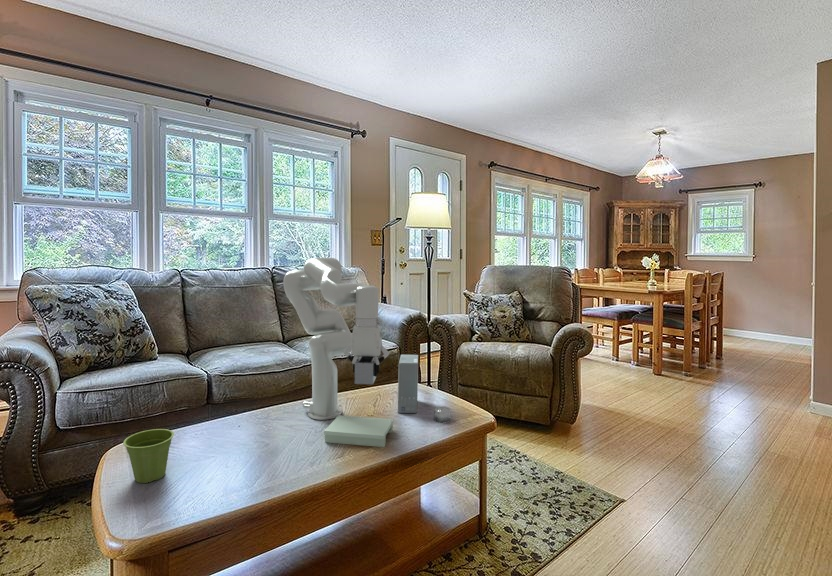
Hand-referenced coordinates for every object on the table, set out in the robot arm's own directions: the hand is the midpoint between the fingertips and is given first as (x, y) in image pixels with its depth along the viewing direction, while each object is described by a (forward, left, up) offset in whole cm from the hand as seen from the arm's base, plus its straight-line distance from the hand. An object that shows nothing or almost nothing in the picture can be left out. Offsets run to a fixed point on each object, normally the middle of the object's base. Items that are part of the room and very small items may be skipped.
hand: (366, 374), depth 146 cm
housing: (0, 0, -2) cm, 2 cm away
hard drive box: (+9, +29, -21) cm, 38 cm away
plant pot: (-51, -38, -21) cm, 67 cm away
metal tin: (+24, +18, -21) cm, 37 cm away
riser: (-2, -2, -21) cm, 21 cm away
